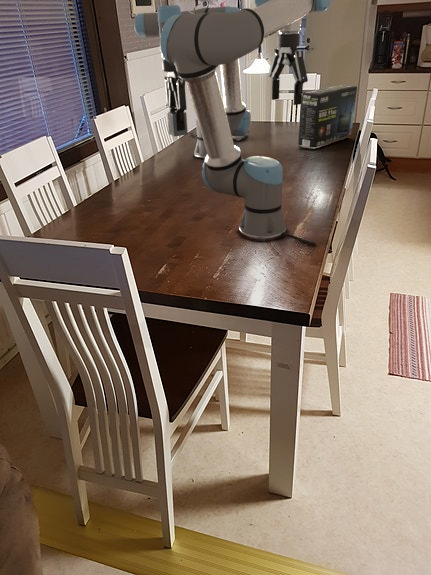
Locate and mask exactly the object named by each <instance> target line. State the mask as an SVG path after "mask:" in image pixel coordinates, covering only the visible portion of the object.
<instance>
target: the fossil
mask: <svg viewBox="0 0 431 575" xmlns="http://www.w3.org/2000/svg"><path fill="white" fill-rule="evenodd" d="M249 132H250V128H249V129H248V132H247V133H249ZM249 134H250V133H249ZM244 136H245V137H247V135H244ZM244 136H237V137H236V136H232V139H233V140H234V139H240V138H243V139H245V137H244ZM235 141H236V142H240V141H241V140H235Z"/></svg>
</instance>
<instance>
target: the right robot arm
mask: <svg viewBox="0 0 431 575" xmlns="http://www.w3.org/2000/svg"><path fill="white" fill-rule="evenodd" d="M331 3H332V0H254V4H255V7H254V8H250V7H245V8H242V9H240V11H237V12H225V13H194V14H188V13H183V14H179V15H174V16H172V17H170V18H169V19H168V20H167V21H166V22H165V24H164V26H163V28H162V33H161V36H160V37H159V49H160V48H161V51H160V53H162V55H163V57H164V58H163V59H165V60H166V61H168V62H169V63H170V64H173V65H175V67H176V70H177V73H178V76H179V78H181V79H182V80H185V85H186V87H187V90H188V93H189V96H190V101H191V103H192V107H193V111H194V113H195V118H196V117H197V120H198V123H199V127H200V130H201V133H202V137H203V140H204V143H205V146H206V150H207V153H208V154H207V155H206V157H205V159H204V161H203V163H202V167H201V168H202V170H201V177H202V180H203V183H204V185H205V186H206V188H208V189H209V190H211V191H213V192H216V193H220V194H224V195H227V196H228V195H229V196H232V197H237V198H242V199H243V200H244V211H243V213H242V216H241V220H240V222H239V226H238V232H239V235H240V236H241V237H242V238H244V239H247V240H250V241H254V242H271V241H277V240H279V239H281V238H283V237H287V238H290V239H293V240H294V241H297V242H301V243H303V244H305V245H306V244H307V245H310V246H314V247H315V246H317V242H314V241H310V240H307V239H304V238H301V237H298V236H296V235H293V234H290V233H287V223H286V221H285V216H284V214H283V210H282V200H283V183H284V174H283V173H284V172H283V171H284V169H283V166H282V164H281V163H280V162H279V161H278V160H277V159H274V158H272V157H268V156H264V155H262V156H260V155H254V156H253V155H252V156H249V157H247V158H245V159H243V155H242V152H241V151H242V150H241V149H240V147H238V146H236V145H235V144H234V143H235V142H234V139H232V135H231V131H230V127H229V123H228V119H227V115H226V111H225V107H224V103H223V95H222V91H221V88H220V83H219V80H218V75H217V70H218V68H219V67H220V65H223V64H226V63H229V62H232V61H234V60H237V59H239V60H240V58H243V57H245V56H246V55H248V54H250V53H253V52H254V51H255V50H257V49H259V48H260V47H261V46H262V45H263V43H264V41H265V40H266V39H268V38H270V37H271V36H273V35H274V34H276V33H278V34H277V36H276V47H277V48H274V50H273V56H272V60H271V64H270V67H269V69H268V70H269V71H268V74H267V76H268V78H270V80H271V100H272V101H275V100H280V81H281V80H280V79H281V78H280V76H281V73H282V72H283V70H284V67H285V66H288V67H289V68H290V70H291V73H292V76H293V78H294V86H293V103H292V104H293V106H299V105H301V100H302V93H303V91H304V90H303V89H304V84H305V83H308V81H309V80H308V79H309V78H308V73H307V69H306V64H305V60H304V50H302V49H299V50H298V47H300V45H301V34H300V33H299V32H301V31H302V18H304V17H306V16H307V15H309V14H310V13H314V12H315V13H319V12H325V11H327V10H328V9H329V8H330V6H331ZM162 55H161V56H162Z"/></svg>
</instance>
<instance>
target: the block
mask: <svg viewBox="0 0 431 575" xmlns="http://www.w3.org/2000/svg"><path fill="white" fill-rule="evenodd" d="M166 116H167V117H166V118H167V127H168V128H167V129H168V134H169V135H170V136H172V137H174V138H175V137H182V136H188V132H189V131H188V130H189V129H188V116H187V112H186V111H184V120H185V130H181V131H178V130H177V117H176V112H175V111H172V112H170V111H167V112H166Z"/></svg>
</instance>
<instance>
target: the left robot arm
mask: <svg viewBox="0 0 431 575" xmlns="http://www.w3.org/2000/svg"><path fill="white" fill-rule="evenodd" d="M240 10H241V9H240V8H239V7H238V6H216V7H215V6H214V7H201V8H198V9H192V10H183V11H182V10H181V7H180V6H179V5H178V4H170V5H168V4H167V5H159V6H158V8H157V12H143V13H137V14H136V15H135V16H134V19H133V27H134V32H135V34H136V35H137V36H138V37H139V38H147V39H148V38H160V36H161V33H162V28H163V26H164V24H165V22H166V21H167V20H168V19H169V18H170V17H172V16H174V15H179V14H183V13H188V14H194V13H225V12H237V11H240ZM159 52H160V53H161V48H160V47H159ZM161 58H162V60H161V67H162V68H161V69H162V71H163V72H164V73H166V76H164V77H163V79H164V86H165V87H164V88H165V100H166V106H167V107H168V109H169V112H172V111H175V112H176V117H177V130H178V131H181V130H185V120H184V112H186V111H187V110H188V107H187V96H186V81H185V80H183V79H181V78H179V76H178V73H177V70H176V67H175V65H173V64H170V63H169V62H168V61H166V60H165V59H164V57H163V55H162V53H161ZM219 73H220V81H221V82H220V84H221V94H222V99H223V103H224V107H225V111H226V115H227V119H228V123H229V127H230V131H231V135H232V136H236V137H237V136H244V135H246V134H247V132H248V129H249V130H250V126H251V121H252V120H251V119H252V114H251V112H250V110H248V109H247V106H246V104H245V103H244V102H243V97H242V82H241V70H240V58H239V59H237V60H234V61H232V62H229V63H226V64H223V65H219ZM195 126H196V134H195V133H194V131H191V132H192V133H194V134H195V135H194V134H192V133H191V132H190V134H191V135H192V136H194V137H195V138H196V144H195V148H194V150H193V152H194V153H193V156H194V158H196V159H199V160H205V157H206V155H207V154H208V153H207V150H206V146H205V143H204V140H203V137H202V133H201V130H200V127H199V123H198V120H197V117H196V116H195ZM196 135H197V136H196ZM246 136H247V135H246Z"/></svg>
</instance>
